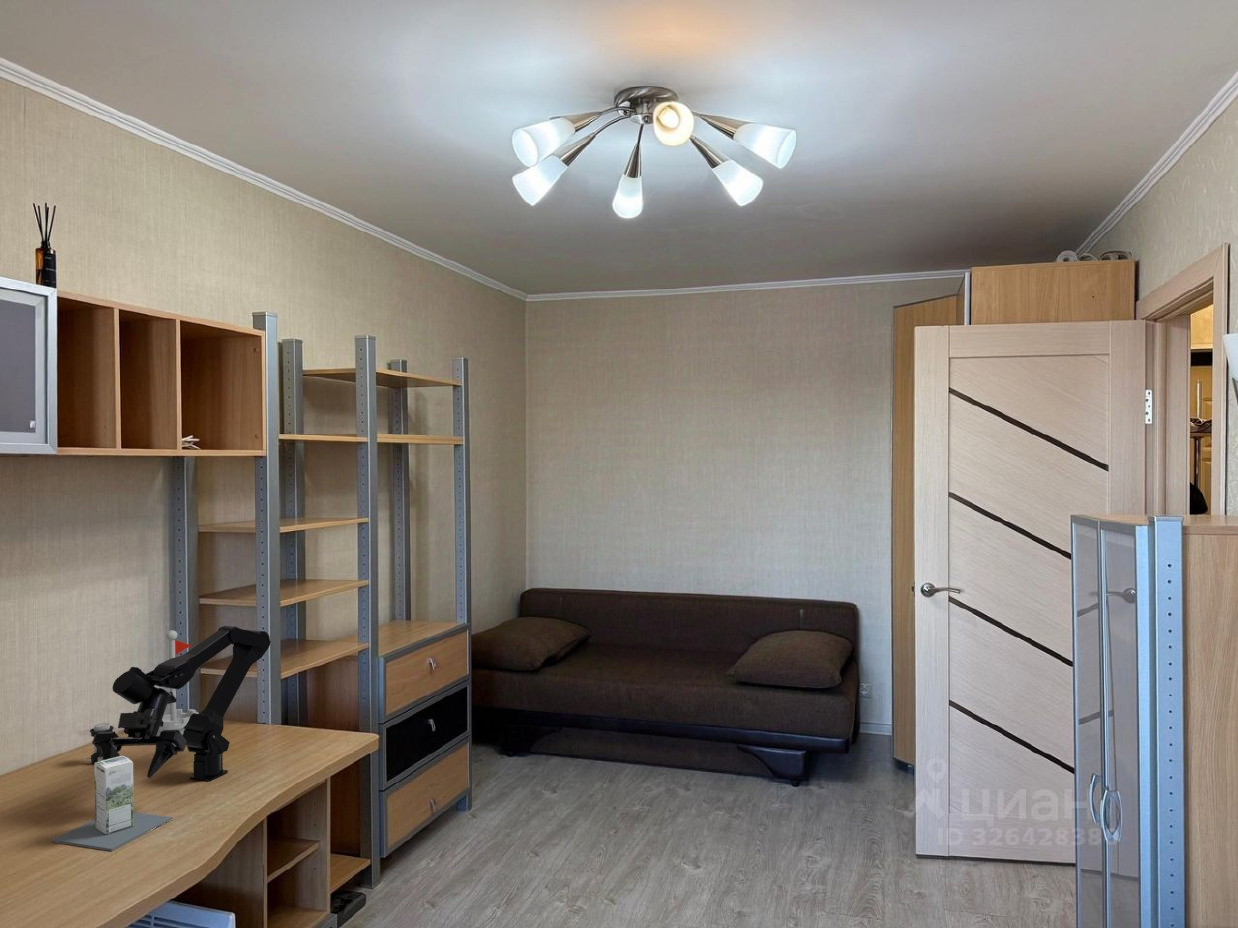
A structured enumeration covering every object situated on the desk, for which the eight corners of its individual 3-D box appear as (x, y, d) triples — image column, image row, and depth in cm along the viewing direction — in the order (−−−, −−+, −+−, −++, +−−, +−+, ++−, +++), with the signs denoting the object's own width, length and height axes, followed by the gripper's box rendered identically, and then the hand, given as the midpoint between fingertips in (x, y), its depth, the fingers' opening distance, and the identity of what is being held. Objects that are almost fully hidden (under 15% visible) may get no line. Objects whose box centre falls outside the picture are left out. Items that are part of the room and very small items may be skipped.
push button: (81, 767, 229) (80, 728, 229) (90, 760, 234) (89, 722, 234) (109, 765, 230) (108, 727, 230) (117, 758, 235) (116, 721, 235)
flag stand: (153, 744, 247) (151, 637, 247) (143, 733, 257) (141, 630, 257) (203, 734, 255) (202, 630, 255) (192, 723, 265) (190, 624, 265)
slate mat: (116, 811, 200) (115, 809, 200) (172, 819, 195) (172, 817, 195) (51, 841, 185) (51, 839, 185) (111, 851, 180) (111, 848, 180)
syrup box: (123, 819, 194) (121, 754, 194) (134, 826, 191) (133, 759, 190) (94, 828, 190) (93, 761, 190) (106, 835, 186) (104, 767, 186)
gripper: (95, 696, 200) (68, 762, 189) (179, 694, 201) (157, 760, 190) (114, 720, 208) (90, 785, 197) (195, 718, 209) (175, 782, 198)
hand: (127, 777), depth 195 cm, fingers open, 9 cm apart
